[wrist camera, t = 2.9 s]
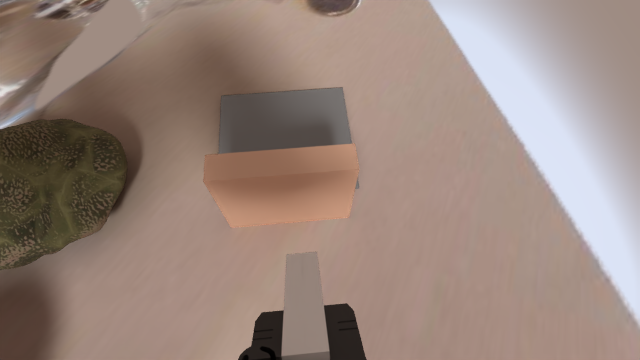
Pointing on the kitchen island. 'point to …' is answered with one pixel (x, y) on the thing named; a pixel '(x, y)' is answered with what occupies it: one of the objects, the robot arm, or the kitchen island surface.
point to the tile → (283, 184)
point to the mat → (283, 120)
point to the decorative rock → (55, 186)
